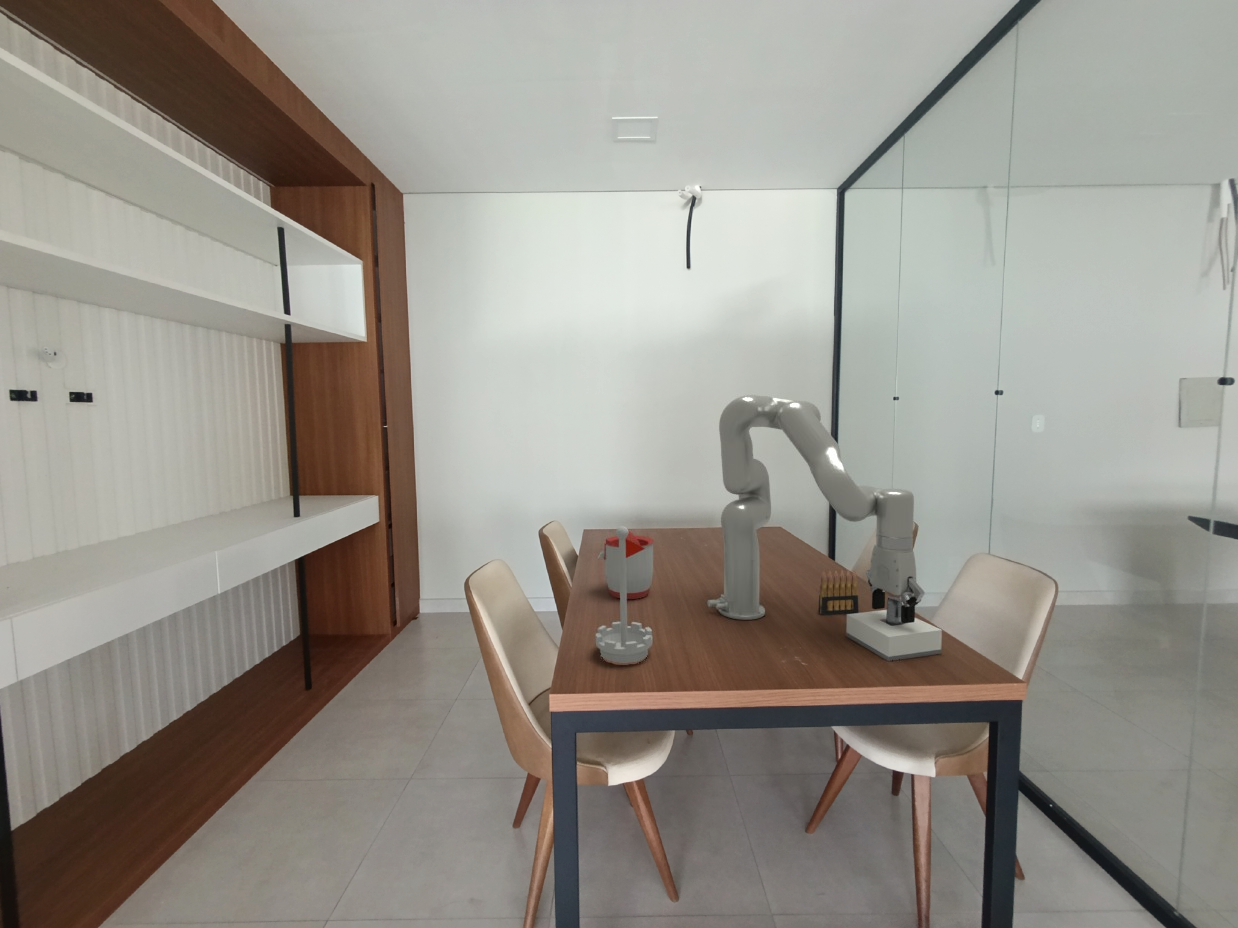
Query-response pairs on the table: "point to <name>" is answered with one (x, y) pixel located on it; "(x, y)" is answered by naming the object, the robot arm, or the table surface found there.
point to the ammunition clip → (838, 594)
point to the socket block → (893, 636)
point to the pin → (893, 611)
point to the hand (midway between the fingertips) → (892, 614)
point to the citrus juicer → (629, 567)
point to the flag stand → (624, 618)
